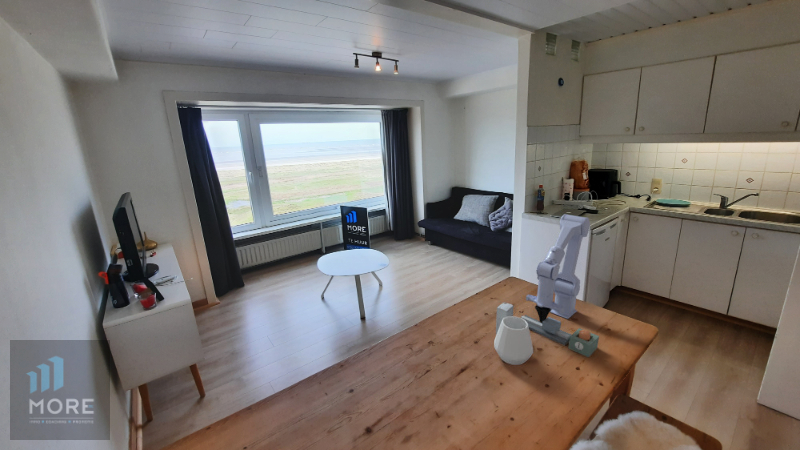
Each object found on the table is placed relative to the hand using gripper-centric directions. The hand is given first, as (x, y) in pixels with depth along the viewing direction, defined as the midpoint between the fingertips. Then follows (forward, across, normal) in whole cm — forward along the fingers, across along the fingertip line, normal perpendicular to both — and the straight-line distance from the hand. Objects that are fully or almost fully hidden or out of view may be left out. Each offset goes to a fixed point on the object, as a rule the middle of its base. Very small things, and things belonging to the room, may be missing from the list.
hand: (542, 321), depth 131 cm
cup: (+4, +1, -23) cm, 23 cm away
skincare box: (+4, -9, -13) cm, 16 cm away
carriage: (+2, +4, 0) cm, 4 cm away
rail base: (+4, +1, 0) cm, 4 cm away
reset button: (+1, +16, 0) cm, 16 cm away
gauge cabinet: (+4, +16, 0) cm, 16 cm away
